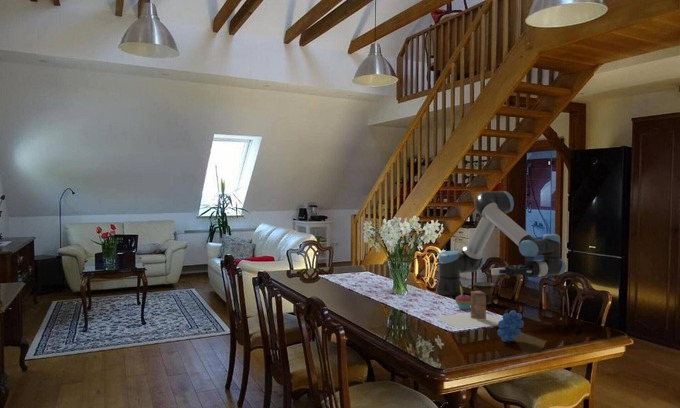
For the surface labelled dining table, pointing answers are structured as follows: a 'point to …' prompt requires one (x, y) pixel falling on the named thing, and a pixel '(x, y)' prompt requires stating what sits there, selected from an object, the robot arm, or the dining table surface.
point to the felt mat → (467, 320)
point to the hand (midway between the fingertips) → (492, 271)
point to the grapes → (510, 326)
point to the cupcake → (463, 301)
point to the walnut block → (478, 305)
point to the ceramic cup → (484, 289)
